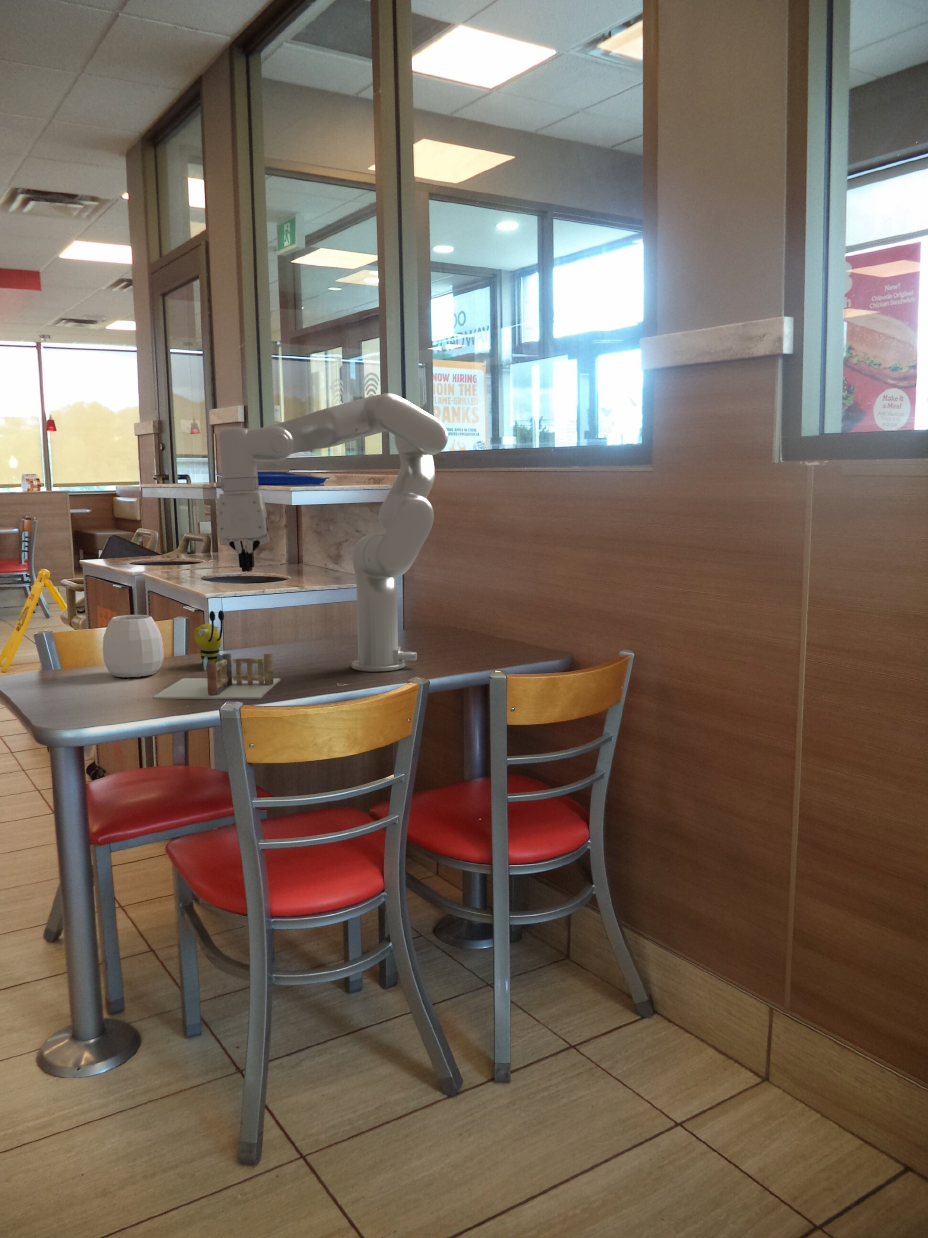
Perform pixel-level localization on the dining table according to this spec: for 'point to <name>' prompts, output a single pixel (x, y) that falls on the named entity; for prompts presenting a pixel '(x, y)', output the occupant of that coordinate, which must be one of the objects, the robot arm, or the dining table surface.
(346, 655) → the dining table surface
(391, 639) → the robot arm
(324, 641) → the dining table surface
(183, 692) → the card
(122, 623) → the white faceted vase
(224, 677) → the fence wing
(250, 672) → the fence fixed
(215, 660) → the toy
